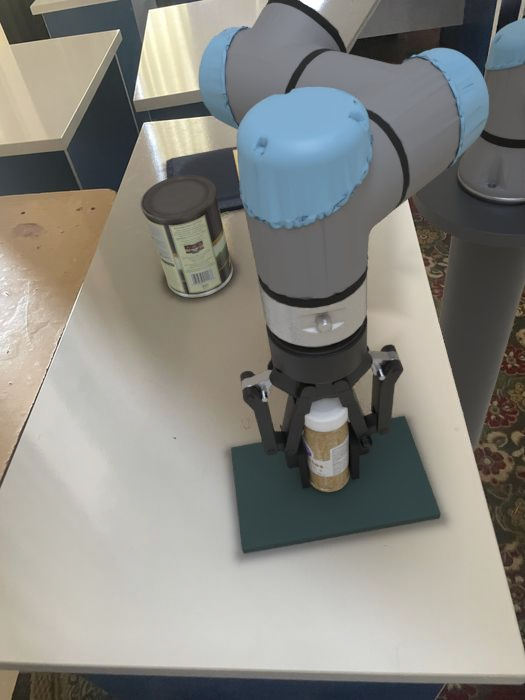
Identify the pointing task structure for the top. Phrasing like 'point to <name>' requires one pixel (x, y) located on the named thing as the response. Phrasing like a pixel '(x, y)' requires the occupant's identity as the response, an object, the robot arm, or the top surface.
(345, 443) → the sprinkles bottle
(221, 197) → the dark blue book
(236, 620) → the top surface
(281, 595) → the top surface
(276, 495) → the dark green mat
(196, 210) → the coffee can
